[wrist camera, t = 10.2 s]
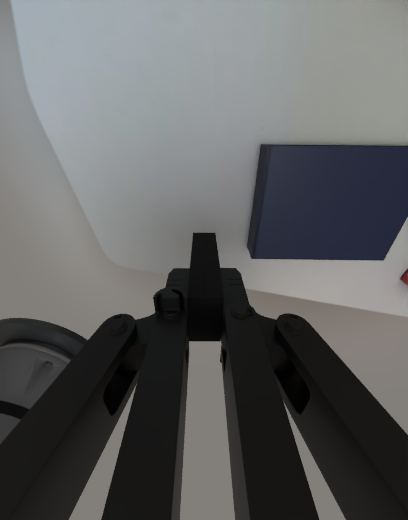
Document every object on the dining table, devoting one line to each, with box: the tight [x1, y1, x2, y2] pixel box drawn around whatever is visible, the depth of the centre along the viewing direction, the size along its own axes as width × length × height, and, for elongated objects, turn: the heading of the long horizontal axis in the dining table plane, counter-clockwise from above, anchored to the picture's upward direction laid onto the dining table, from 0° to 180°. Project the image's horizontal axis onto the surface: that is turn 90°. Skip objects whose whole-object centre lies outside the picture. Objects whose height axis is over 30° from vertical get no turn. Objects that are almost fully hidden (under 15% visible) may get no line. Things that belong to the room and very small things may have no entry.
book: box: [247, 144, 408, 260], centre depth 23 cm, size 16×12×3 cm
